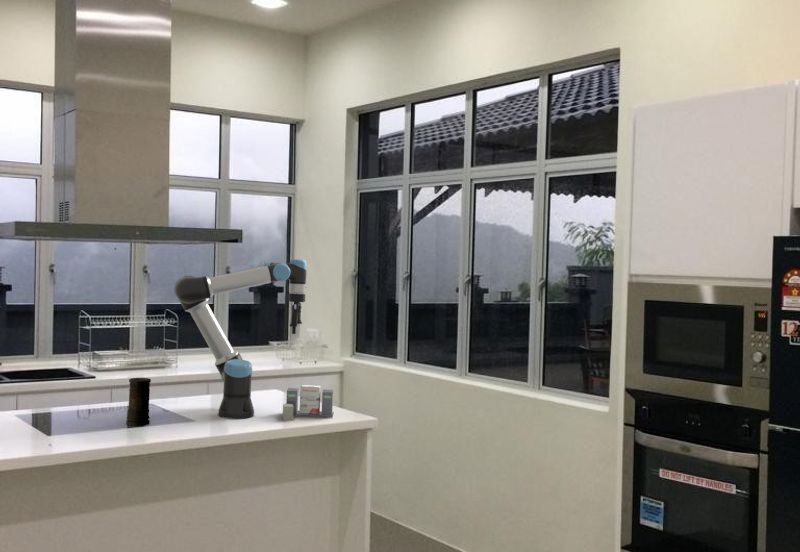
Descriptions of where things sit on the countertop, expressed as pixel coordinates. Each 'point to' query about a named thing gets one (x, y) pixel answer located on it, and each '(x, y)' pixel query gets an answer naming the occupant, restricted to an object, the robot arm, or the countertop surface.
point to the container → (139, 402)
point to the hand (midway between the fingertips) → (295, 339)
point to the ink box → (310, 399)
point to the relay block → (288, 411)
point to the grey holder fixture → (326, 412)
